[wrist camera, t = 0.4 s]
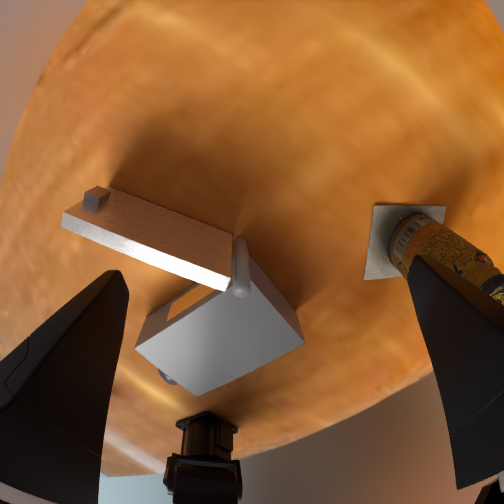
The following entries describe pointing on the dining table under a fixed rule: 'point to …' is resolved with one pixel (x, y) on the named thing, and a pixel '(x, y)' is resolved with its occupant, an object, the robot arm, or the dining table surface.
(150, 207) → the side door
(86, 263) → the dining table surface
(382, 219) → the condiment
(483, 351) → the robot arm
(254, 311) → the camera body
